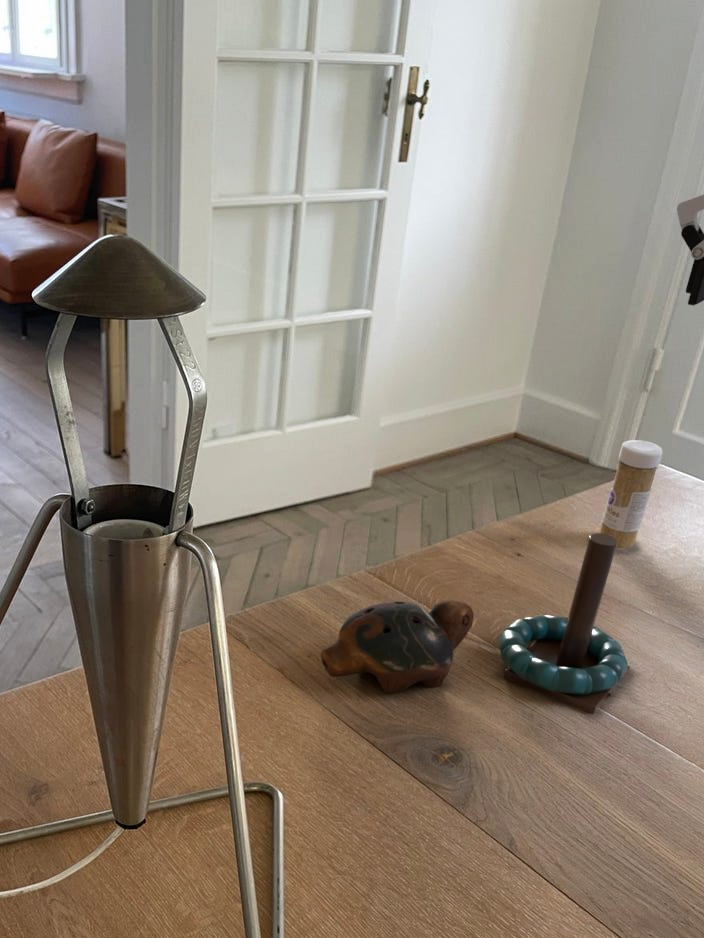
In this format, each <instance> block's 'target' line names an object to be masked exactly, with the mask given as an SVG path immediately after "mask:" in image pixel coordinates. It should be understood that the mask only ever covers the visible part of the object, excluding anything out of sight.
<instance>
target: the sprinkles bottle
mask: <svg viewBox="0 0 704 938" xmlns="http://www.w3.org/2000/svg"><path fill="white" fill-rule="evenodd" d="M663 453H664V451H663V447H660V446H659V445H658V444H656V443H654V442H650V441H647V440H641V439H631V440H626V441H624V442H623V443H622V444H621V447H620V450H619V454H618V465H617V468H616V472H615V475H614V480H613V482H612V487H611V488H610V492H609V495H608V499H607V503H606V506H605V509H604V512H603V515H602V522H601V525H600V529H599V533H600V534H606V535H610V536H612V537H614V538H615V539H616V540H617V546H616V549H629V548H632V547H633V546H634V545H635V542H636V538H637V536H638V533H639V529H641V528H640V527H641V525H642V522H643V517H644V514H645V510H646V508H647V503H648V501H649V497H650V493H651V491H652V487H653V485H652V484H653V482H654V478H655V475H656V470H657V469H658V466H660V463H661V460H662V456H663Z"/></svg>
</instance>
